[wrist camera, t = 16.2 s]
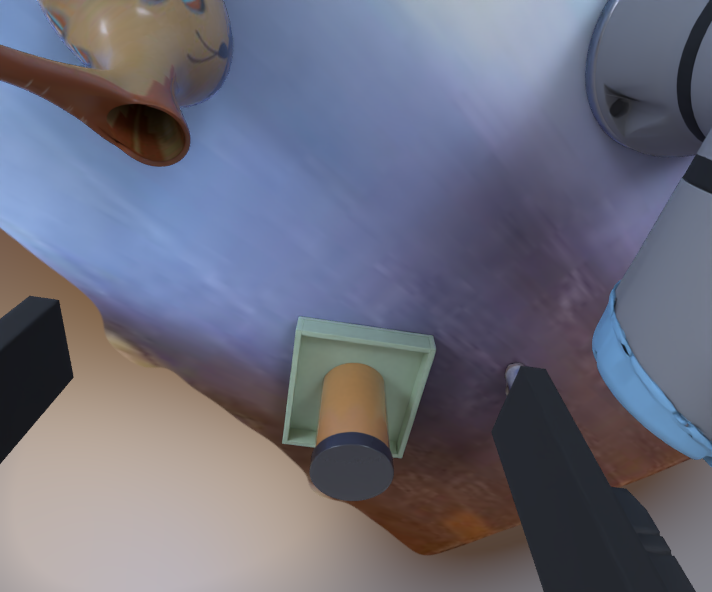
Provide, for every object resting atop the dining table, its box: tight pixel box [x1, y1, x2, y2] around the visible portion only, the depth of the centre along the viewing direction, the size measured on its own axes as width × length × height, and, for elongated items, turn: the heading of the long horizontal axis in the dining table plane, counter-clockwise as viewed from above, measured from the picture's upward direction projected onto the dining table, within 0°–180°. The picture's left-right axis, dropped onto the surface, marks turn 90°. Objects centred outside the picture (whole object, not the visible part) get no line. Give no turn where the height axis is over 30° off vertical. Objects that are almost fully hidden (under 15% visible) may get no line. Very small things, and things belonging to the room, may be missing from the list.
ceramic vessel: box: [0, 0, 233, 167], centre depth 22 cm, size 16×9×25 cm, turn 33°
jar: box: [310, 363, 394, 501], centre depth 45 cm, size 8×8×12 cm
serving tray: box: [282, 316, 436, 458], centre depth 50 cm, size 14×16×2 cm
